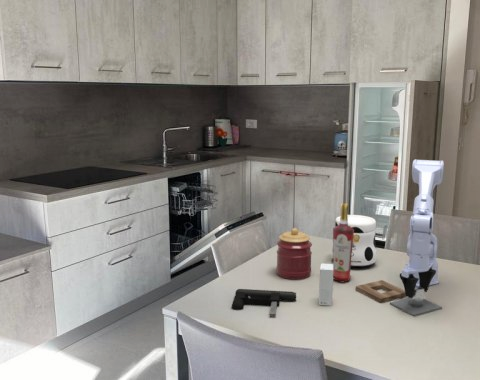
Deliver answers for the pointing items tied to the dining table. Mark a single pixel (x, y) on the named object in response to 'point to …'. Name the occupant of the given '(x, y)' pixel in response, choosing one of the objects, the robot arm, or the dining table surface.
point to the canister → (294, 255)
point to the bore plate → (390, 295)
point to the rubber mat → (415, 311)
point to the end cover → (417, 297)
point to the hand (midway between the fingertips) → (416, 293)
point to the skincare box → (326, 284)
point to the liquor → (342, 247)
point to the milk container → (362, 240)
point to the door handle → (261, 299)
